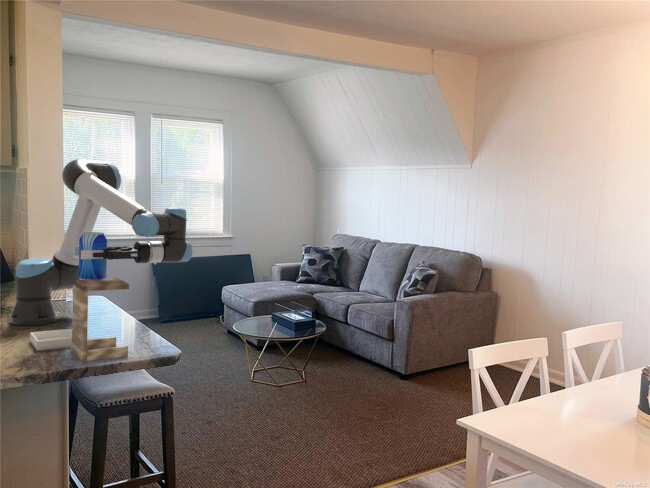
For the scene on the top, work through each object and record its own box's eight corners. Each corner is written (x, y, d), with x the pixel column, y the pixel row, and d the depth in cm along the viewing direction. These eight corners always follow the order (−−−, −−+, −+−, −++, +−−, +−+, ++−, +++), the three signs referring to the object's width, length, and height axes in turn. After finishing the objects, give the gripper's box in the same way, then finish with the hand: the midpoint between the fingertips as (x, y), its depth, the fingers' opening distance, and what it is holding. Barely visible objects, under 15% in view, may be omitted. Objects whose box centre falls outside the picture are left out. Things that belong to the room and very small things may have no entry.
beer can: (85, 278, 186) (86, 231, 185) (110, 280, 186) (111, 232, 185) (73, 282, 178) (74, 233, 177) (99, 284, 178) (100, 234, 177)
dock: (81, 361, 165) (83, 286, 163) (71, 350, 175) (72, 279, 173) (127, 355, 173) (129, 284, 171) (115, 345, 183) (116, 278, 181)
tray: (30, 341, 182) (30, 332, 182) (69, 337, 190) (70, 328, 190) (37, 350, 173) (37, 341, 172) (78, 346, 180) (79, 337, 180)
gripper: (158, 267, 185) (86, 269, 171) (136, 259, 201) (69, 260, 187) (159, 244, 184) (87, 245, 170) (137, 238, 200) (69, 238, 186)
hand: (77, 253), depth 178 cm, fingers closed on beer can, 8 cm apart
